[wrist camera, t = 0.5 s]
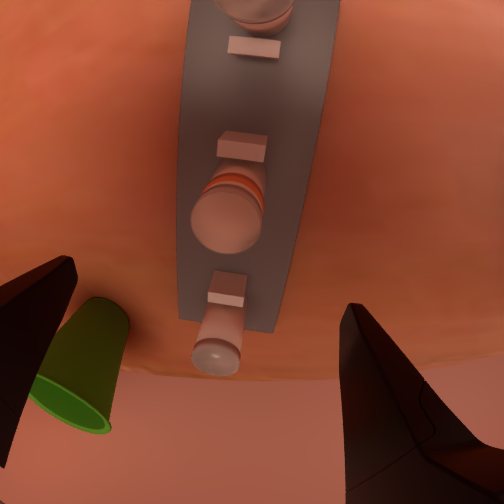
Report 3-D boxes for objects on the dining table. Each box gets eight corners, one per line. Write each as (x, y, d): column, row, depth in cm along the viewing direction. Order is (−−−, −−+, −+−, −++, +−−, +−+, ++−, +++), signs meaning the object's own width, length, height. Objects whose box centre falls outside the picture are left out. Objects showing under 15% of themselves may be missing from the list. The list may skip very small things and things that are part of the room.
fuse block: (340, -16, 12) (351, -32, 9) (273, 324, 27) (271, 355, 24) (201, -31, 12) (185, -48, 9) (182, 310, 27) (171, 339, 24)
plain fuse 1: (250, 288, 23) (241, 352, 18) (245, 317, 25) (237, 379, 20) (209, 282, 23) (190, 343, 18) (207, 311, 25) (191, 371, 20)
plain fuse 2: (295, -8, 12) (301, -43, 7) (288, 41, 14) (291, 26, 9) (237, -14, 12) (216, -49, 7) (230, 34, 14) (205, 18, 9)
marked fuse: (270, 156, 18) (266, 196, 13) (263, 203, 19) (256, 258, 14) (218, 149, 18) (191, 186, 13) (214, 196, 19) (189, 248, 14)
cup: (166, 332, 29) (132, 434, 19) (114, 353, 32) (79, 434, 23) (99, 265, 25) (35, 363, 16) (56, 299, 28) (5, 378, 19)
